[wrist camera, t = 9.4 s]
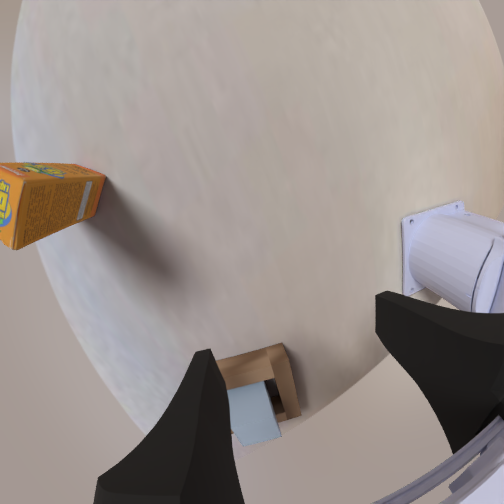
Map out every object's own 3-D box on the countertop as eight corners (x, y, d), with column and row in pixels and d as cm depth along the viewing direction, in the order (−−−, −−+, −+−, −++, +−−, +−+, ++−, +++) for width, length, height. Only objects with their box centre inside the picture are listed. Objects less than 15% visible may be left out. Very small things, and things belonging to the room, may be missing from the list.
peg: (260, 368, 24) (273, 416, 18) (268, 391, 25) (281, 436, 19) (224, 378, 23) (230, 427, 18) (235, 400, 25) (243, 446, 19)
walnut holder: (281, 342, 23) (289, 360, 21) (295, 398, 26) (301, 415, 23) (190, 366, 22) (189, 385, 20) (219, 418, 25) (221, 435, 23)
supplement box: (109, 171, 17) (26, 181, 7) (95, 216, 17) (15, 261, 8) (74, 158, 16) (-17, 162, 6) (62, 202, 17) (-27, 235, 7)
